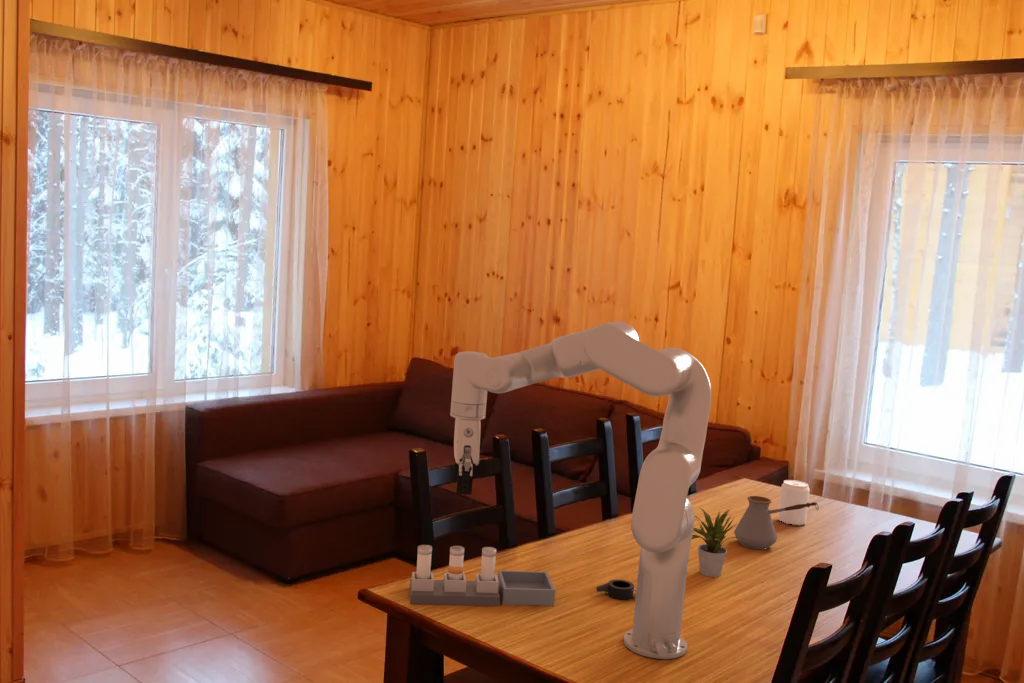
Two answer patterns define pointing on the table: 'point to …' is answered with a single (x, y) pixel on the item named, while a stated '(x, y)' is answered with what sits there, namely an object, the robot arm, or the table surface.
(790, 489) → the beverage can
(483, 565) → the fuse right
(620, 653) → the table surface
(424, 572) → the fuse left
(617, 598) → the black ring with handle
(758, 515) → the coffee pot
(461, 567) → the marked fuse
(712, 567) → the house plant
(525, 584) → the tray
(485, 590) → the block
